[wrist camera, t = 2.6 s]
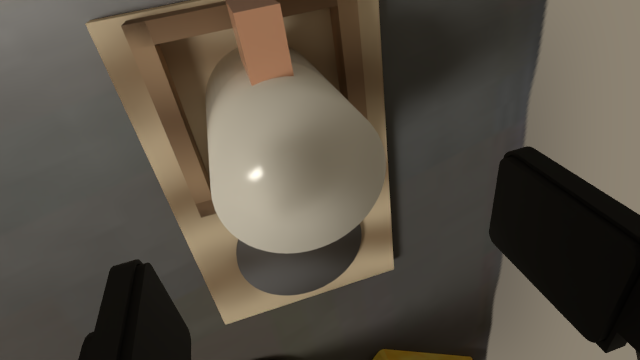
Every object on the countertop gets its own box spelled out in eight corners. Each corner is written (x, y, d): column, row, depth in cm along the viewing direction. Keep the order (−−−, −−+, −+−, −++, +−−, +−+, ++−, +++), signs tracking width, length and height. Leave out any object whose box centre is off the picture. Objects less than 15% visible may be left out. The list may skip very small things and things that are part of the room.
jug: (328, 137, 23) (390, 226, 16) (225, 165, 22) (239, 272, 15) (303, -23, 18) (375, -3, 11) (170, 4, 17) (151, 44, 10)
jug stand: (388, 260, 32) (402, 282, 30) (224, 314, 30) (226, 341, 28) (369, -36, 20) (389, -34, 18) (90, 20, 18) (76, 29, 16)
